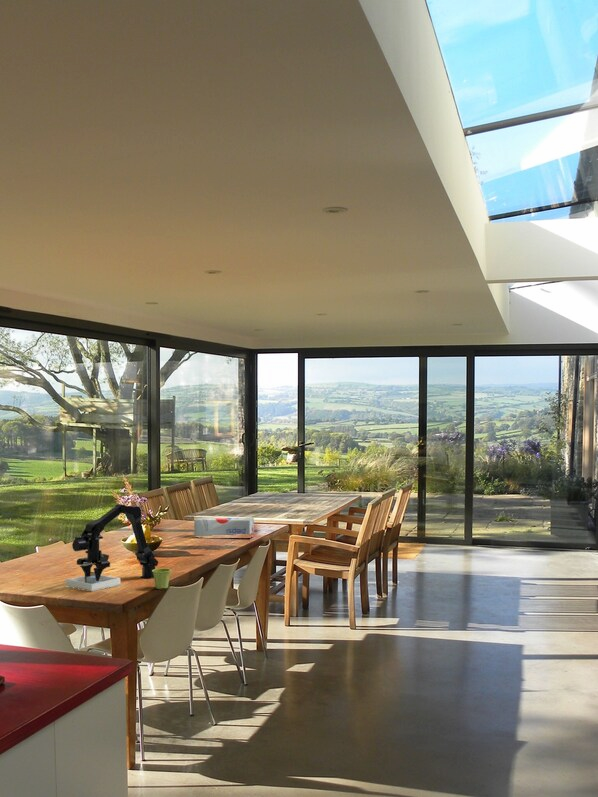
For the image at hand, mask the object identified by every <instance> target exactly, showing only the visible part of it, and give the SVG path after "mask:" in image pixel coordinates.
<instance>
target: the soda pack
mask: <svg viewBox="0 0 598 797" xmlns="http://www.w3.org/2000/svg"><path fill="white" fill-rule="evenodd" d="M193 523H194V527H193V528H194V532H193V533H194V537H195V536H212V535H234V534H235V535H236V534H251V533H253V532H254V533H255V519H254V517H198V518H195V519H194V522H193Z"/></svg>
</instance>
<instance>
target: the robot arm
mask: <svg viewBox="0 0 598 797" xmlns="http://www.w3.org/2000/svg"><path fill="white" fill-rule="evenodd" d="M121 514H124V515H125V517H126V519H127V521H129V523H130V524H131V527H132V531H133V535H134V538H135V541H136V542H135V543H136V545H137V551H136V552H135V556H136V560H137V561H138V563H139V564H140V566H142V571H141V574H142V575H141V576H139V578H142V577H143V579H148V578H149V579H154V578H153V577H154V575H153V572H152V570H154V569H156V567H158V564H159V561H158V560H157V559H156V557H155V555H154V553H153V551H152V549H151V548H150V547H149V545H148V543H147V539H146V536H145V532H144V528H143V525H142V517H143V512H142V508H141V507H140V506H136V505H125V504H122V503H117V504H116V505H114V506H113V507H112V508H111V509H110V510H108V511H107V512H106V513H105V514H103V515H102V516H101V517H99V518H97V519H95V520H92V521H90V522H87V524H86V525H85V528H84V530H83V531H82V534H80V536H75V537H74V540H73V541H72V544H71V547H72V549H73V551H74V552H81V551H85V554H87V556H86V557H81V558H77V560H76V565H78V566H79V567H81V569H82V571H83V573H84V576H85V575H86V577H89V576H90V574H91V572H92V571H91V570H92V567H93V566H95V567H93V572H95V577H96V581H99V579H100V576H101V575H102V573H103V571H104V570H105V569H107V568H110V567H111V562H110V561H109V558H110V554H106V553H103V552H102V550H100V540H101V539H104V537H103V535H101V533H102V532H103V531H104V530H105V528H106V526H107V525H108V524H110V523H111V522H112V521H113V520H115V519H116V518H117V517H118V516H120V515H121Z"/></svg>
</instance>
